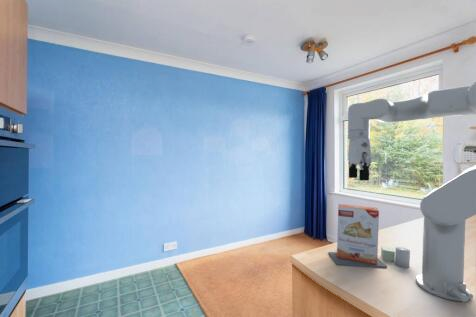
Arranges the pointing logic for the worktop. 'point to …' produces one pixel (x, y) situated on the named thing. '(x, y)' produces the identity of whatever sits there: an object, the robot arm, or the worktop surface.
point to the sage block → (388, 253)
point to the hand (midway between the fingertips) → (358, 178)
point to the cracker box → (358, 233)
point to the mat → (354, 262)
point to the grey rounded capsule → (402, 257)
